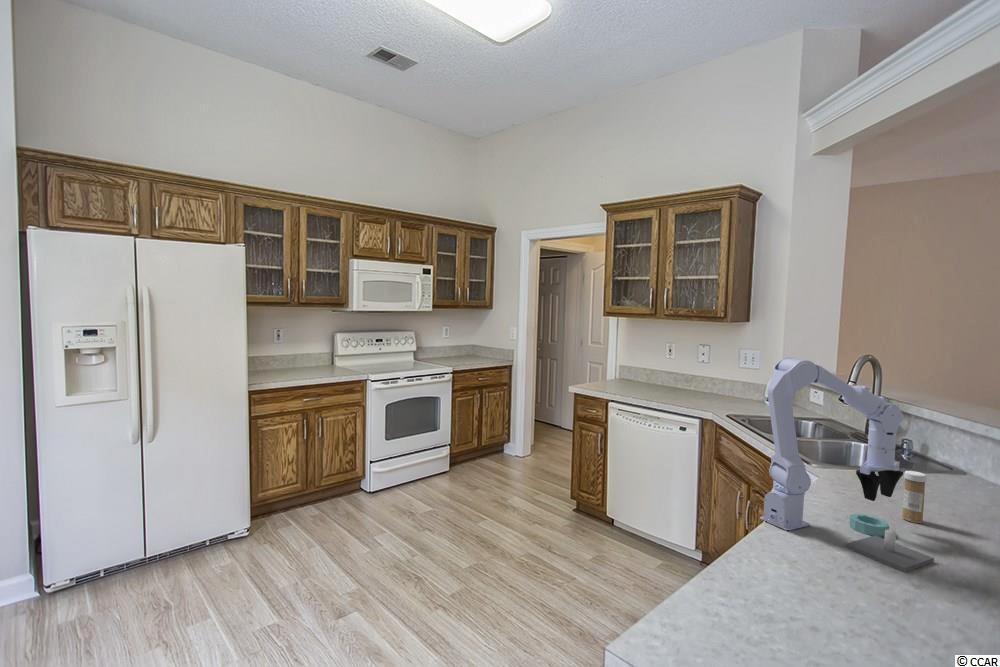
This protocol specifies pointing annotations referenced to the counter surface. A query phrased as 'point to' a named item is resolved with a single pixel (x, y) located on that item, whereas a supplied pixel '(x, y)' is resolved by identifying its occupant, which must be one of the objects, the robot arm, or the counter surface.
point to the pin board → (890, 552)
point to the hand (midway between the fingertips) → (878, 497)
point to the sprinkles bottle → (914, 496)
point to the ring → (868, 524)
